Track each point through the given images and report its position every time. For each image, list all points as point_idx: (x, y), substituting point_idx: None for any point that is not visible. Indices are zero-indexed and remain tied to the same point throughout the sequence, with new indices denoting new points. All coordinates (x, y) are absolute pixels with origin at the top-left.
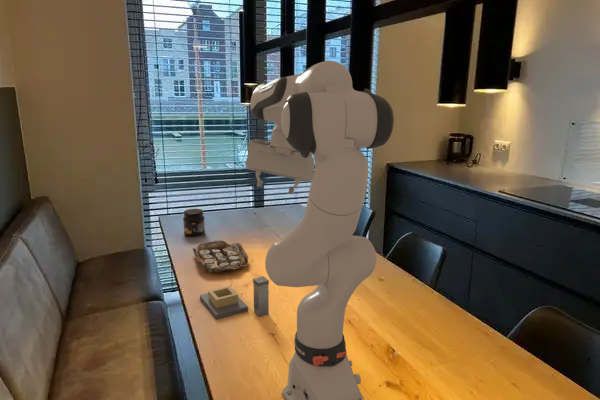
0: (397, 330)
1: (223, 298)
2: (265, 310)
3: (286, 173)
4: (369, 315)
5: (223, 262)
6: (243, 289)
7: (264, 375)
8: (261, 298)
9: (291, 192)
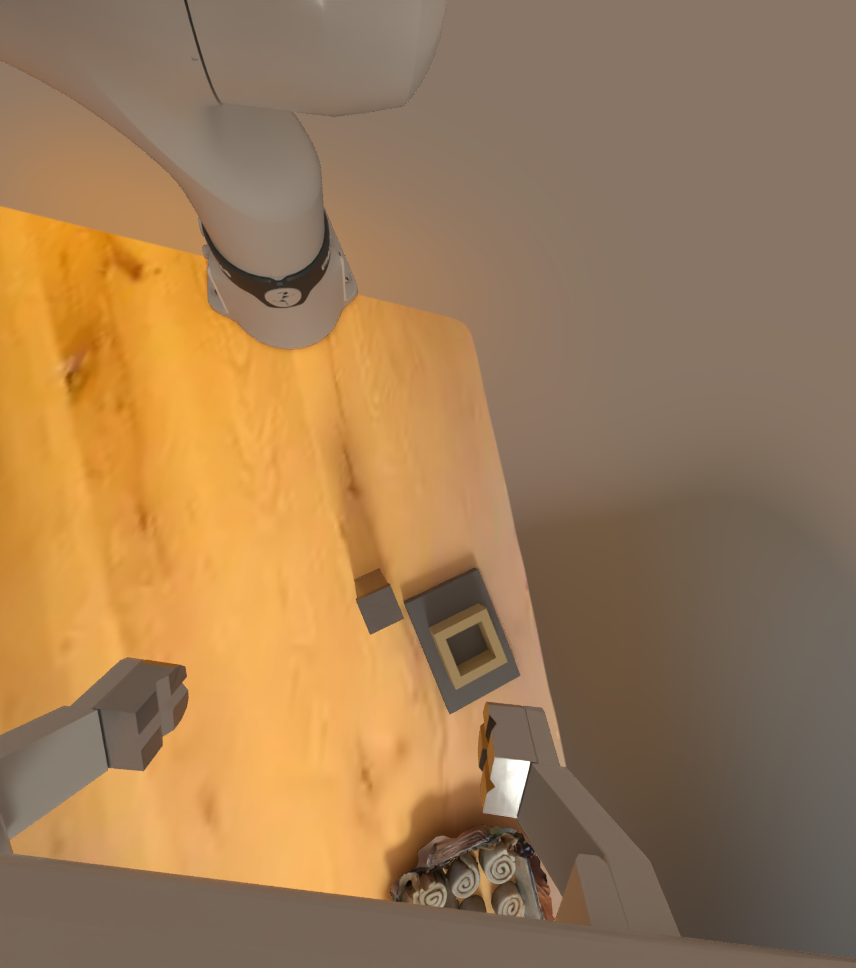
0: (14, 459)
1: (469, 616)
2: (362, 578)
3: (68, 896)
4: (69, 546)
5: (467, 908)
6: (410, 723)
7: (383, 351)
8: (375, 580)
9: (151, 660)
